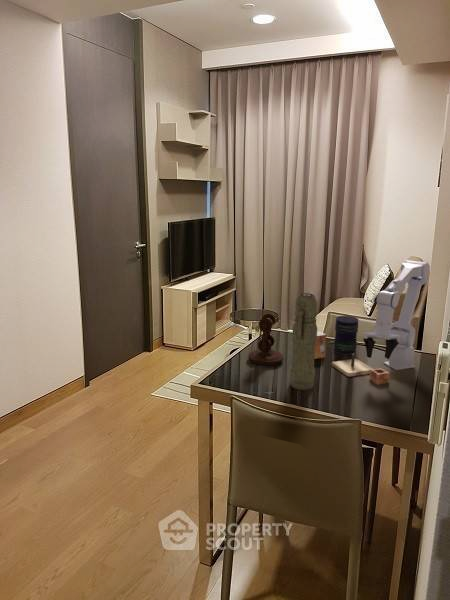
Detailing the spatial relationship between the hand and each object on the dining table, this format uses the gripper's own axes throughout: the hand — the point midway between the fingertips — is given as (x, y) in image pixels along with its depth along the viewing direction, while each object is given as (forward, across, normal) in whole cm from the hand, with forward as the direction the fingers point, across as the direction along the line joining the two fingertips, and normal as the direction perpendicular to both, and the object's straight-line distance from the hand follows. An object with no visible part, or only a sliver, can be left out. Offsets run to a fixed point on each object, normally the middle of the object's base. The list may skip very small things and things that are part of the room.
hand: (377, 357), depth 178 cm
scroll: (+12, -35, +27) cm, 46 cm away
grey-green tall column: (+13, -28, +2) cm, 31 cm away
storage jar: (+6, +3, +33) cm, 33 cm away
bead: (+9, +2, 0) cm, 9 cm away
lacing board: (+9, -3, +13) cm, 16 cm away
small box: (+9, -13, +28) cm, 32 cm away
